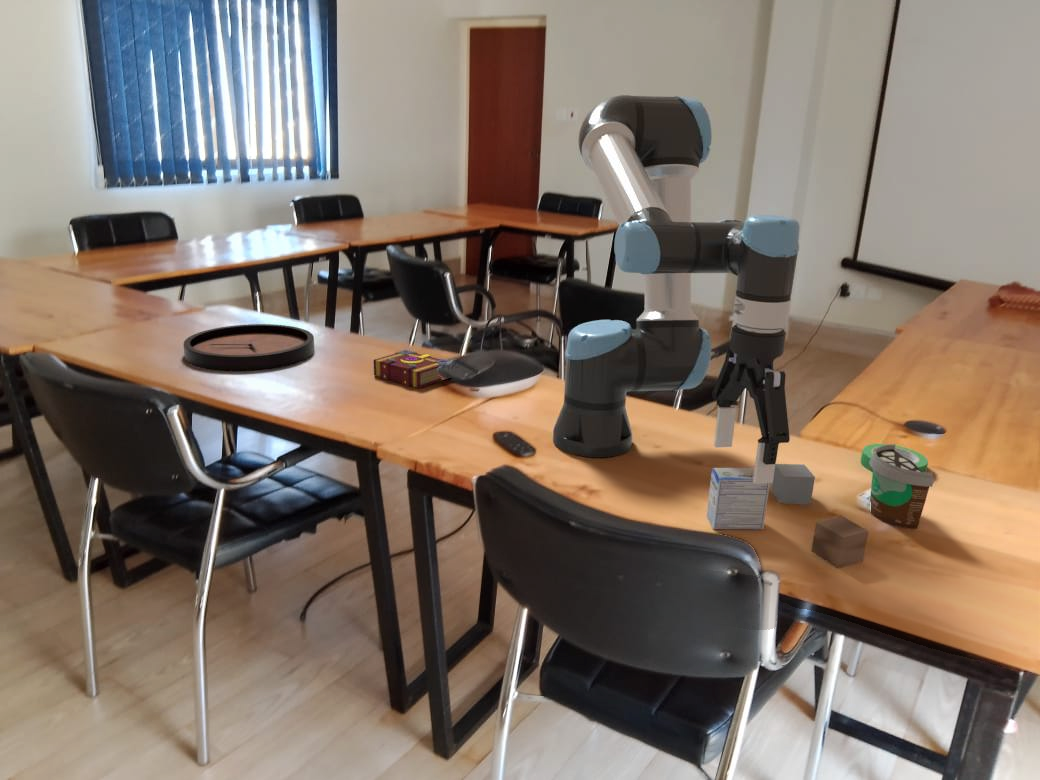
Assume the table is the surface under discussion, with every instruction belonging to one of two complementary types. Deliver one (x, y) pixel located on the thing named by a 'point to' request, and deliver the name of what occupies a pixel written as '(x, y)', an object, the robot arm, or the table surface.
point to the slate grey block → (793, 483)
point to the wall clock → (249, 347)
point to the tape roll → (905, 452)
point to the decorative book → (409, 368)
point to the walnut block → (839, 541)
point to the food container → (897, 488)
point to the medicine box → (736, 499)
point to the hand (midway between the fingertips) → (741, 463)
